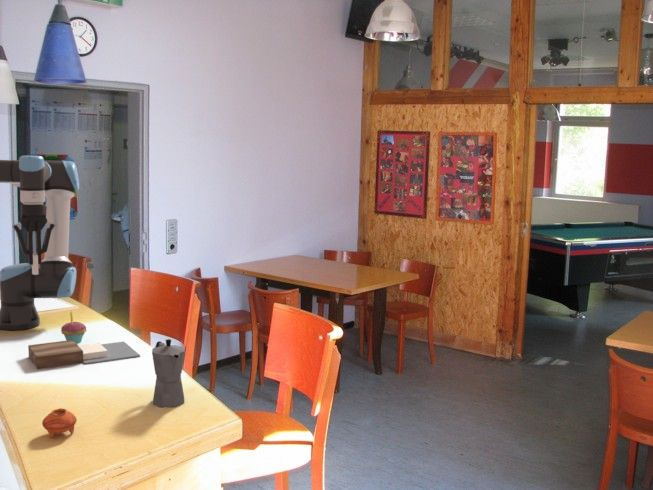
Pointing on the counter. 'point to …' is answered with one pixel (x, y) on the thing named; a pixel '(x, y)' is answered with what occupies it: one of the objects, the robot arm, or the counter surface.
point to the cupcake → (73, 330)
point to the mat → (114, 353)
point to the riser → (55, 354)
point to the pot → (59, 422)
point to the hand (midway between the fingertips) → (35, 273)
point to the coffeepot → (168, 374)
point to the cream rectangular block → (93, 351)
